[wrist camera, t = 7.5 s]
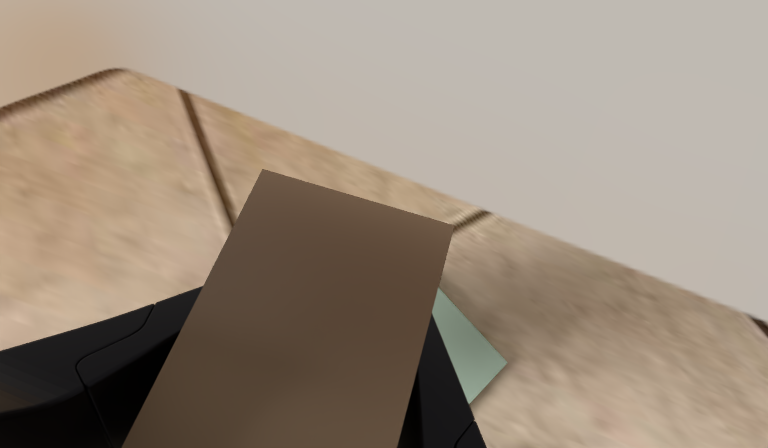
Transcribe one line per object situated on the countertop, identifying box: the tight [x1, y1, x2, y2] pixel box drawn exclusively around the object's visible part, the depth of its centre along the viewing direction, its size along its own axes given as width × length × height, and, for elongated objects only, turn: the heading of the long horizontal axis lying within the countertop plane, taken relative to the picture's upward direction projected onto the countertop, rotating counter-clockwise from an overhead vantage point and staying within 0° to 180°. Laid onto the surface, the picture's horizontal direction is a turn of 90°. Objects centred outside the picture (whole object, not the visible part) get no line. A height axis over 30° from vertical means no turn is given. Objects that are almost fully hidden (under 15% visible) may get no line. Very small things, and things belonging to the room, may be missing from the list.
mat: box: [432, 287, 508, 404], centre depth 19 cm, size 14×11×1 cm
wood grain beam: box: [122, 169, 454, 448], centre depth 10 cm, size 6×4×11 cm, turn 162°
